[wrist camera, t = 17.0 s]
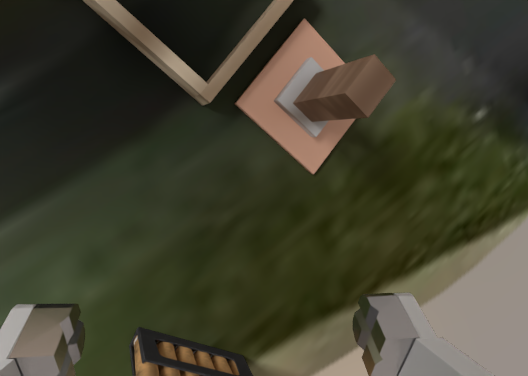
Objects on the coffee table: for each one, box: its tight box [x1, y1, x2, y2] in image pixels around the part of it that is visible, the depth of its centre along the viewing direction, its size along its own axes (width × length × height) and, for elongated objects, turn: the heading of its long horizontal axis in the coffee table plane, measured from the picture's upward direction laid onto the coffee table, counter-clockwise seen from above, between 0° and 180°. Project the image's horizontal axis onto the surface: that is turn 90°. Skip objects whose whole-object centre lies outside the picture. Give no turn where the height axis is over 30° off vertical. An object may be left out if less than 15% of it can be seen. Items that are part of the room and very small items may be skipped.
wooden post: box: [274, 54, 396, 137], centre depth 31 cm, size 5×5×10 cm
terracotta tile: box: [235, 18, 355, 174], centre depth 35 cm, size 10×10×1 cm
